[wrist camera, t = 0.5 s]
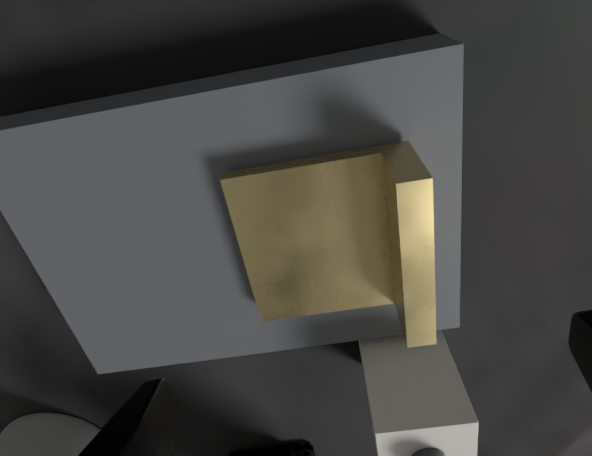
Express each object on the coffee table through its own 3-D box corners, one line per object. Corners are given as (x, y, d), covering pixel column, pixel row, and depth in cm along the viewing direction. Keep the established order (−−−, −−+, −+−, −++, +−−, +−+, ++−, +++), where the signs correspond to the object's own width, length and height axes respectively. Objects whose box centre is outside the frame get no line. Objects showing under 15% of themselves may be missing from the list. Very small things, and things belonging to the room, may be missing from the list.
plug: (431, 355, 28) (487, 512, 20) (361, 363, 29) (388, 522, 20) (429, 301, 26) (491, 455, 18) (354, 312, 26) (380, 467, 18)
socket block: (443, 291, 25) (459, 327, 23) (116, 335, 27) (98, 374, 25) (440, 32, 18) (463, 43, 16) (0, 116, 20) (-43, 138, 18)
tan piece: (416, 289, 21) (436, 344, 18) (262, 310, 22) (257, 366, 19) (408, 140, 17) (432, 178, 14) (223, 171, 18) (207, 214, 15)
